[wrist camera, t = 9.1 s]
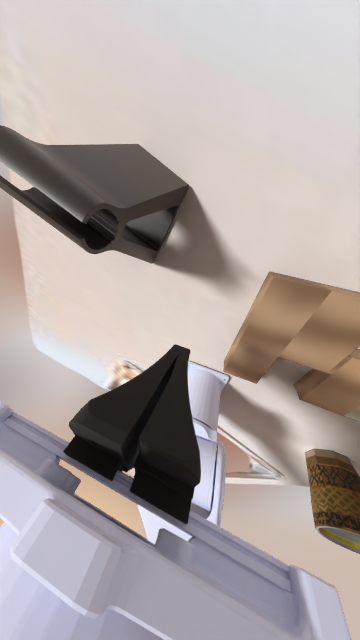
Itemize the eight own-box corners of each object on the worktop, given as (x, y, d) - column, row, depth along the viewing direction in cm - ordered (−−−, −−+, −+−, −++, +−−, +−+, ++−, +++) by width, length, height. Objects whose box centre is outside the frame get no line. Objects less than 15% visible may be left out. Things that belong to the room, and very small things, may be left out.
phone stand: (153, 263, 20) (74, 295, 10) (117, 235, 19) (-2, 241, 10) (189, 186, 14) (96, 98, 5) (140, 145, 14) (-69, -39, 4)
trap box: (361, 408, 21) (386, 445, 17) (224, 360, 24) (222, 382, 21) (511, 328, 12) (621, 367, 9) (269, 271, 16) (278, 283, 12)
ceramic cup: (302, 465, 33) (323, 541, 25) (289, 441, 30) (308, 518, 22) (389, 478, 26) (457, 588, 18) (383, 449, 23) (460, 564, 15)
